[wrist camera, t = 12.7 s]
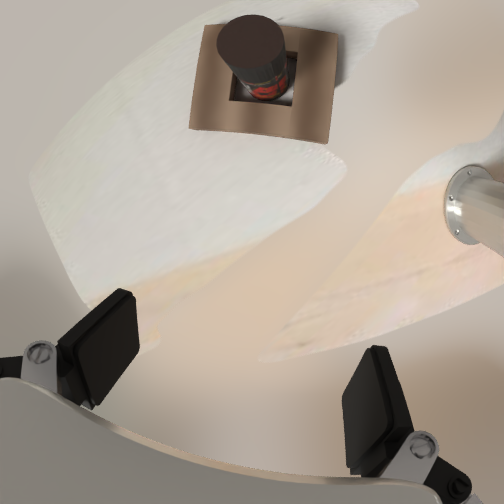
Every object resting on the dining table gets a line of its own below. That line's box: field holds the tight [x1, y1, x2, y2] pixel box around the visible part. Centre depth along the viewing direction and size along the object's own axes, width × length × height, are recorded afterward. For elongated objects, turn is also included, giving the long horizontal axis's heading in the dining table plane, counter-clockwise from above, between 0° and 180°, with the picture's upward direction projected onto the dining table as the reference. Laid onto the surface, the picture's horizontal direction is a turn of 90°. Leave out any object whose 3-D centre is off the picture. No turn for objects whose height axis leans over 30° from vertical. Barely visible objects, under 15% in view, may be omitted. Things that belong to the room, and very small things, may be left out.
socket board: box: [189, 24, 338, 144], centre depth 31 cm, size 18×16×3 cm
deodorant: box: [216, 15, 289, 101], centre depth 25 cm, size 6×6×15 cm
